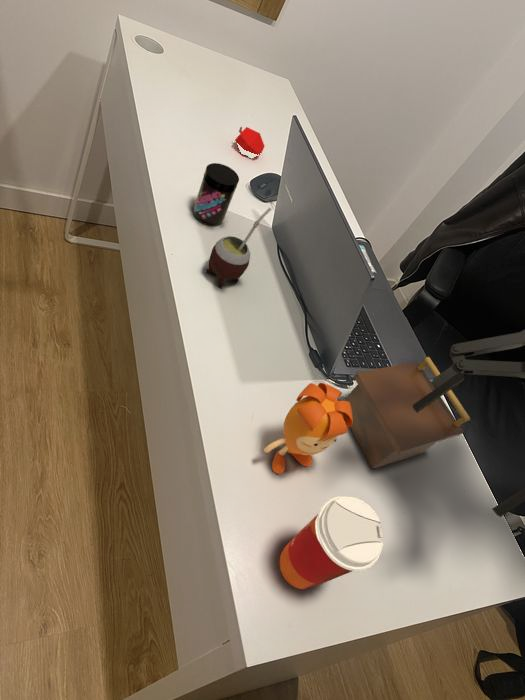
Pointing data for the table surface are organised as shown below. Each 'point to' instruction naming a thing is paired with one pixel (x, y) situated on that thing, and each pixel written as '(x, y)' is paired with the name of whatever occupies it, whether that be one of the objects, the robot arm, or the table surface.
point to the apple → (250, 140)
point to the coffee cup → (333, 544)
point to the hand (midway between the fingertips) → (453, 458)
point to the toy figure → (312, 425)
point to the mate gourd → (231, 256)
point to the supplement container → (215, 193)
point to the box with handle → (400, 413)
